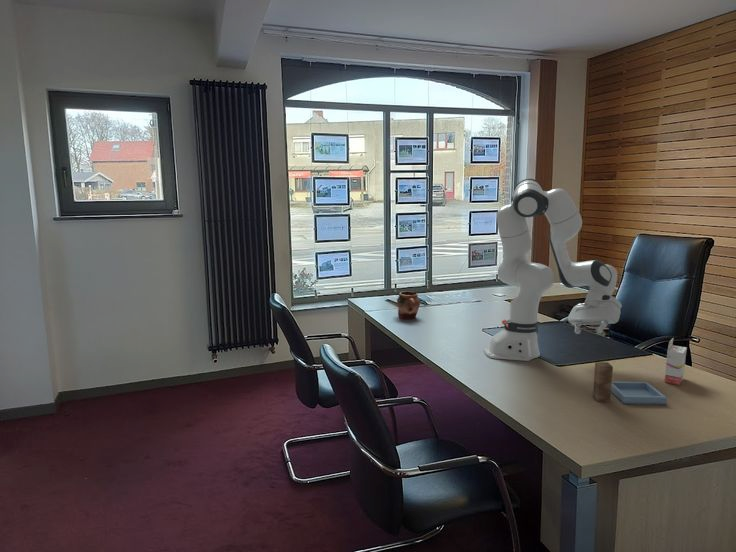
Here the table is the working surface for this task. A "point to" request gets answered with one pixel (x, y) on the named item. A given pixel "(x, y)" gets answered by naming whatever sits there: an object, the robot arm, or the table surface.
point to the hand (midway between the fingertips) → (587, 332)
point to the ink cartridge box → (675, 364)
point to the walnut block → (602, 382)
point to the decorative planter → (408, 305)
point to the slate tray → (637, 393)
